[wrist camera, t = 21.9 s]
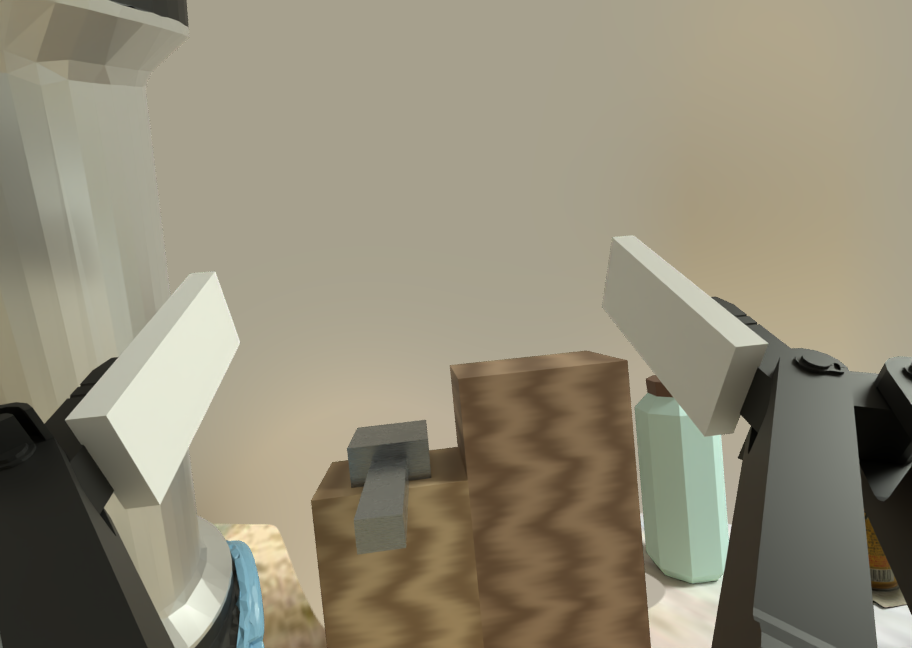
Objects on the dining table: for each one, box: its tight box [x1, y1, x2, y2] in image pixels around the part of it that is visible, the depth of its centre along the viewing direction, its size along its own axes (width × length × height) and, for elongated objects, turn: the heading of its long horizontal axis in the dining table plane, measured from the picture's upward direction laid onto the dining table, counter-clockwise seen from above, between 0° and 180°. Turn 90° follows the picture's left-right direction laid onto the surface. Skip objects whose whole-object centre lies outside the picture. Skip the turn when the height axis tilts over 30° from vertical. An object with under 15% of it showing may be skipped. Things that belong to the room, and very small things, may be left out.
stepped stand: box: [311, 351, 651, 648], centre depth 50 cm, size 32×11×30 cm, turn 95°
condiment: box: [864, 509, 907, 607], centre depth 54 cm, size 7×8×12 cm
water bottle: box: [635, 375, 729, 584], centre depth 60 cm, size 10×10×25 cm
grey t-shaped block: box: [347, 420, 431, 555], centre depth 43 cm, size 8×21×4 cm, turn 5°
